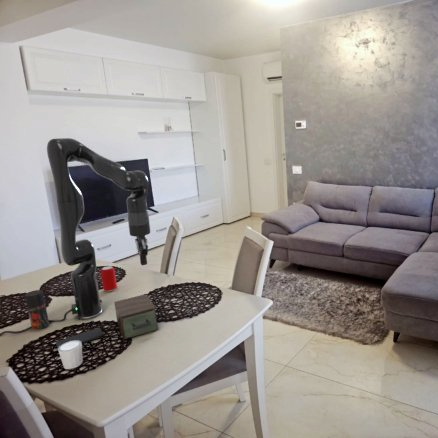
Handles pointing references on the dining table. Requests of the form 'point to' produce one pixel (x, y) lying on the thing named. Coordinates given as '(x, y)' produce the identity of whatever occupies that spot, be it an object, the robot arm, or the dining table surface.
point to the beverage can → (108, 278)
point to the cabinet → (132, 309)
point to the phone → (83, 337)
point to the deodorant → (37, 310)
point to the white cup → (71, 354)
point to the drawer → (139, 323)
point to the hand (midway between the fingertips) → (144, 264)
